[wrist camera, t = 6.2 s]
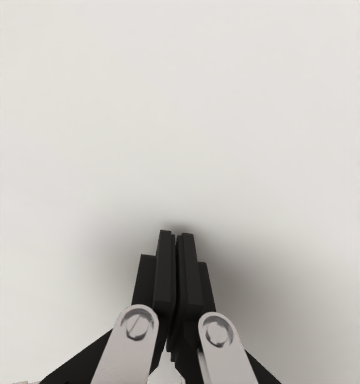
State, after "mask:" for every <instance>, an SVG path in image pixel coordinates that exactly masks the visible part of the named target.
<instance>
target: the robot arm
mask: <svg viewBox="0 0 360 384" xmlns="http://www.w3.org/2000/svg"><path fill="white" fill-rule="evenodd" d="M166 338H167V342H166ZM165 342H166V351H167V352H171V362H175V368H176V369H177V370H178V372H179V373H180V374H181V384H281V383H280V382H279V381H278V380H277V379H276V378H275V377H274V376H273V375H272V374H271V373H270V372H269V371H267V370H266V369H265V368H264V367H263V366H262V365H261V364H260V363H259V362H258V361H257V360H256V359H255V358H254V357H252V356H251V355H250V354H249V353H248V352H247V351H246V350H245V349H244V348H243V345H242V343H241V340H240V338H239V335H238V333H237V330H236V328H235V327H234V325H233V323H232V322H231V321H230V320H229V319H228V318H227V317H225V316H224V315H223V314H220V313H218V312H216V308H215V303H214V299H213V294H212V289H211V284H210V279H209V274H208V269H207V265H206V263H205V262H198V261H197V256H196V249H195V243H194V236H193V234H187V233H182V235H178V236H177V240H176V245H175V235H174V234H171V231H166V230H160V235H159V240H158V246H157V251H156V256H151V255H143V254H141V258H140V263H139V269H138V274H137V279H136V284H135V289H134V294H133V299H132V304H131V306H129V307H127V308H125V309H124V310H123V311H122V312H121V313H120V315H119V317H118V318H117V321H116V323H115V325H114V328H113V329H111V330H110V331H109V332H107V333H106V334H104V335H103V336H102V337H100V338H99V339H97V340H96V341H95V342H93V343H92V344H91V345H89V346H88V347H86V348H85V349H84V350H82V351H81V352H80V353H78V354H77V355H75V356H74V357H73V358H71V359H70V360H68V361H67V362H66V363H64V364H63V365H62V366H60V367H59V368H57V369H56V370H55V371H53V372H52V373H50V374H49V375H48V376H46V377H45V378H44V379H43V380H42V381H39V382H34V383H29V384H147V380H148V376H149V375H150V374H151V373H152V372H153V371H154V370H155V369H156V368H157V367H158V365H159V361H160V357H161V353H162V352H163V349H164V346H165ZM13 384H28V381H23V382H18V383H13Z"/></svg>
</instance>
